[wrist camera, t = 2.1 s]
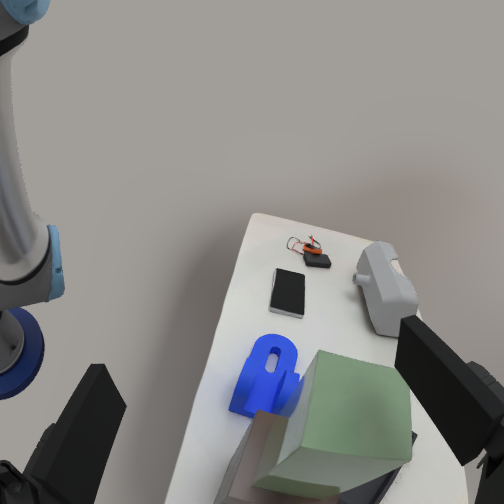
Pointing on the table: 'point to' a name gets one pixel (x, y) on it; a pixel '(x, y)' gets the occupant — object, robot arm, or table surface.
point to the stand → (244, 468)
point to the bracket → (266, 378)
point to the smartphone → (288, 293)
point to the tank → (385, 289)
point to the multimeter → (314, 255)
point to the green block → (337, 429)
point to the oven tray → (371, 488)
